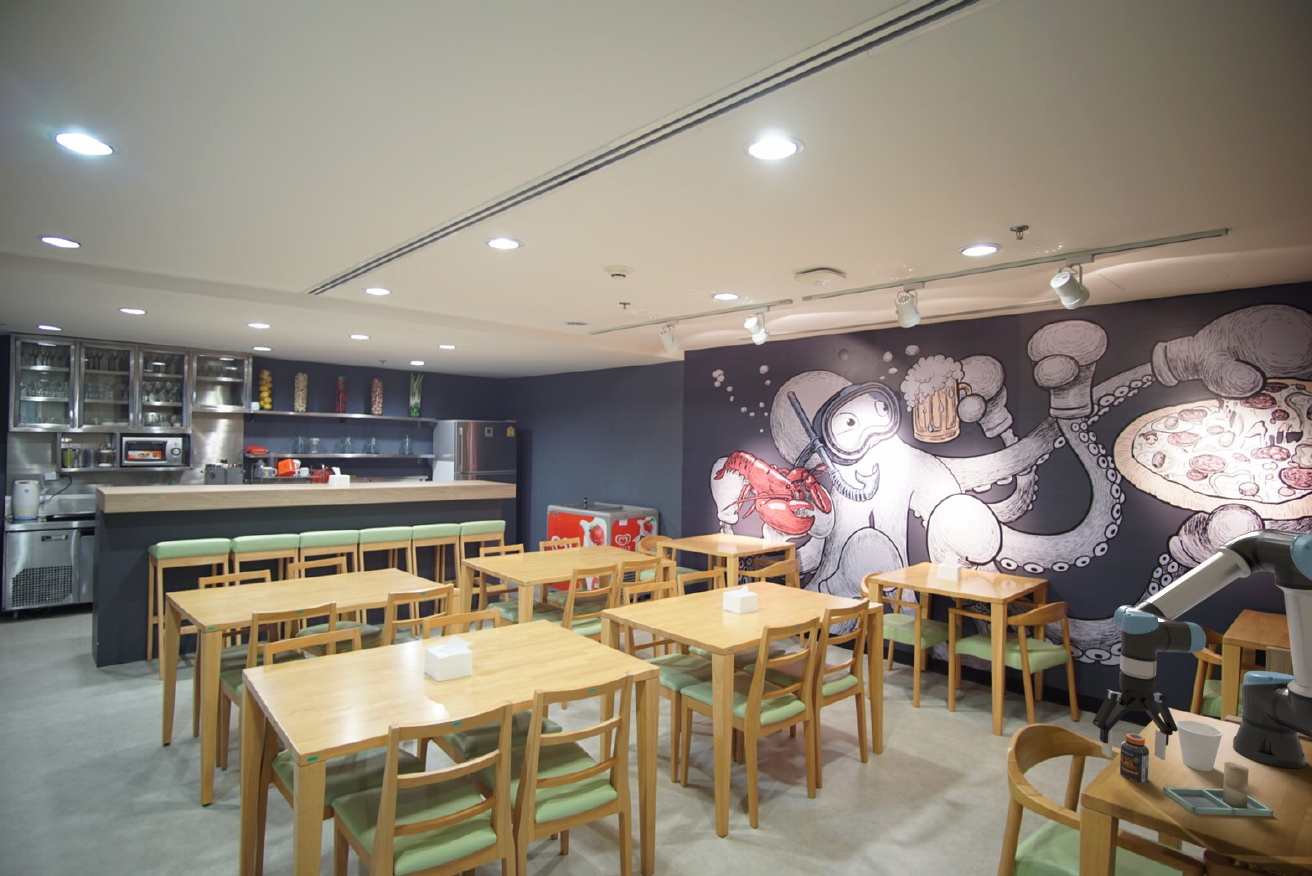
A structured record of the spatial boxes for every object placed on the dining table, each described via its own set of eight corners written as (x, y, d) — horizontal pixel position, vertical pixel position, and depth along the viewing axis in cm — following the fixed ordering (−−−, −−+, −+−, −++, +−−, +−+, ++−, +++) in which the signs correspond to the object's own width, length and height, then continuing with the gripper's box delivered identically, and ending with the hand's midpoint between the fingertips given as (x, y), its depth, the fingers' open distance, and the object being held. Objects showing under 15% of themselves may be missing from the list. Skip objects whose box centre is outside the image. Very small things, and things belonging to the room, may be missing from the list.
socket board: (1237, 798, 168) (1238, 789, 168) (1273, 820, 159) (1273, 810, 159) (1162, 796, 168) (1163, 787, 168) (1193, 818, 159) (1194, 808, 159)
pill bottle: (1114, 776, 178) (1115, 732, 177) (1129, 772, 180) (1130, 729, 180) (1138, 787, 172) (1139, 742, 172) (1153, 783, 174) (1154, 739, 174)
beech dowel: (1236, 799, 166) (1237, 762, 166) (1252, 809, 161) (1253, 771, 161) (1218, 798, 166) (1219, 761, 166) (1233, 808, 161) (1235, 770, 161)
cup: (1230, 780, 177) (1231, 738, 177) (1186, 775, 179) (1188, 733, 179) (1207, 762, 187) (1209, 722, 187) (1166, 758, 189) (1168, 718, 189)
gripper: (1174, 670, 180) (1170, 751, 180) (1079, 666, 179) (1075, 747, 180) (1197, 680, 172) (1193, 765, 172) (1098, 676, 172) (1094, 761, 172)
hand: (1133, 756), depth 176 cm, fingers open, 13 cm apart
